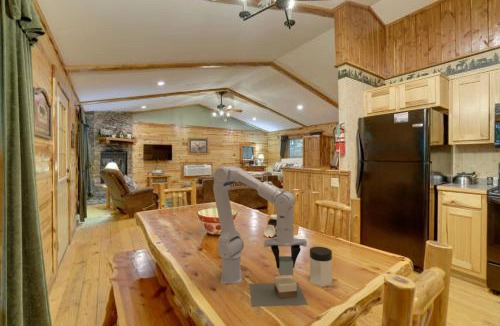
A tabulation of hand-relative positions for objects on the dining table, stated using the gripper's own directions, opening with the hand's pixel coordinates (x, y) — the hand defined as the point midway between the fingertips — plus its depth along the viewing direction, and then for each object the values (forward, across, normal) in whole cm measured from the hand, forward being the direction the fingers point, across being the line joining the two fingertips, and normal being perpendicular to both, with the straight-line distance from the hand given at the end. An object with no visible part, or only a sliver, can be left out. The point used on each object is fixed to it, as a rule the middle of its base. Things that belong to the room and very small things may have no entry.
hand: (285, 266), depth 85 cm
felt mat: (+10, -3, 0) cm, 10 cm away
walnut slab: (+9, 0, 0) cm, 9 cm away
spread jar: (+10, +5, +64) cm, 65 cm away
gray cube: (+2, 0, 0) cm, 2 cm away
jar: (+10, +15, +8) cm, 20 cm away
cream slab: (+7, 0, 0) cm, 7 cm away
